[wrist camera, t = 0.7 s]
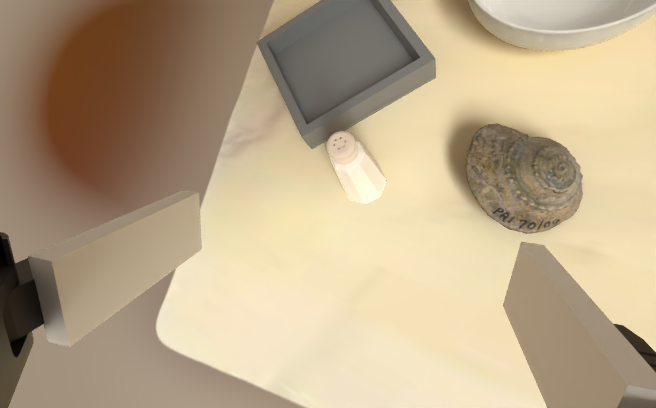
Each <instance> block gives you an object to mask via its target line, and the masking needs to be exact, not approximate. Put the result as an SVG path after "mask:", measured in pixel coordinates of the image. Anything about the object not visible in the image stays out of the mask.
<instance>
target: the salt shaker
mask: <svg viewBox="0 0 656 408" xmlns="http://www.w3.org/2000/svg"><path fill="white" fill-rule="evenodd" d="M326 149H327V152H328V154H329V155H330V157H329V158H330V161H331V163H332V165H333V167H334V169H335V171H336V174H337V176H338V178H339V180H340V182H341V184H342V186H343V188H344V190H345V192H346V194H347V196H348V198H349V200H352V201H355V202H359V203H362V204H367V203H369V202H371V201H373V200H375V199H377V198H379V197H381V195H382V192H383V189H384V187H385V184H386V181H387V180H386V178H385V176H384V175H383V173H382V171H381V169H380V167H379V165H378V164H377V163H376V162H375V160H374V159H373V158H372V156H371V155H370V154H369V153H368V151H367V150H366V149H365V147H364V146H363V145H362V144H361V143H360V142H359V141H356V140H355V139H354V137H353V135H352V134H351V133H349V132H347V131H339V132H336V133H334V134H333V135H331V136H330V138H329V139H328V141H327V144H326Z"/></svg>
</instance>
